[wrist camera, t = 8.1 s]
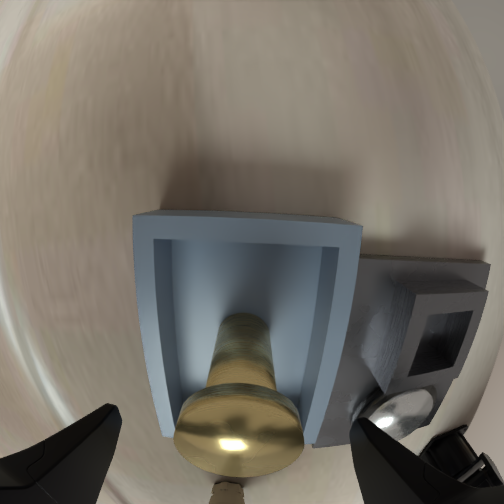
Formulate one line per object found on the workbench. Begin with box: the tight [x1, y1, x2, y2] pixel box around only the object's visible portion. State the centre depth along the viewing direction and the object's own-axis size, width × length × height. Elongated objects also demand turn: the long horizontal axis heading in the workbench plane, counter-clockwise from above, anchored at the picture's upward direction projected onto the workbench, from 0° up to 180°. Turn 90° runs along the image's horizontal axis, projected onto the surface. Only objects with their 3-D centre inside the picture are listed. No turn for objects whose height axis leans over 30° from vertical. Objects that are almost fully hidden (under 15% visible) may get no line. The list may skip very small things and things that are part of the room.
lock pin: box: [173, 313, 304, 477], centre depth 11 cm, size 4×4×8 cm
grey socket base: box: [312, 254, 491, 448], centre depth 15 cm, size 12×16×4 cm
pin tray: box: [133, 210, 363, 444], centre depth 14 cm, size 10×14×4 cm
